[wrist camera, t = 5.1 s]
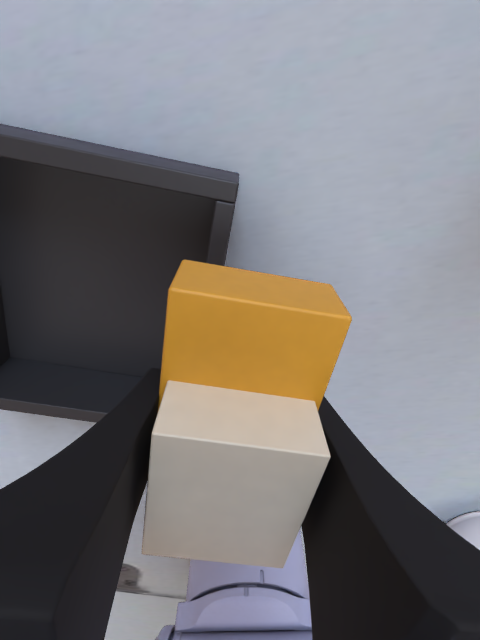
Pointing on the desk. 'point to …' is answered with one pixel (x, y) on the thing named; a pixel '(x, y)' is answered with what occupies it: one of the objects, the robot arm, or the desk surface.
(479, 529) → the trinket box
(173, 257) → the storage box
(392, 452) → the desk surface
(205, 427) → the two-tone block
